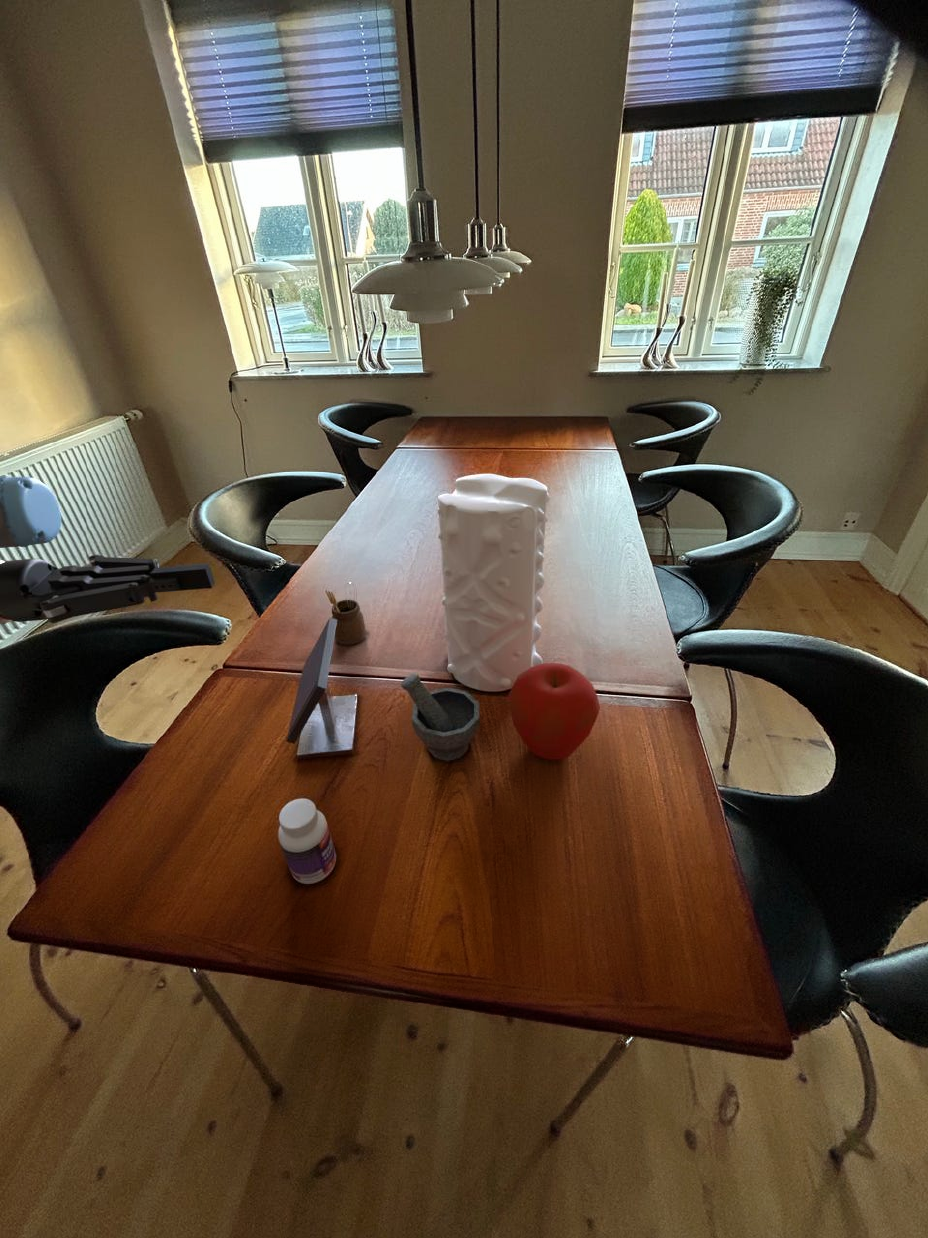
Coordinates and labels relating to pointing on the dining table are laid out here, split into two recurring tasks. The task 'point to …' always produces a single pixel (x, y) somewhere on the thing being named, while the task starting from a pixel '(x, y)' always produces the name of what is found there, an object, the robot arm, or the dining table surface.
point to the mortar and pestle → (443, 718)
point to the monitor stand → (329, 727)
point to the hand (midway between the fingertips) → (210, 575)
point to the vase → (492, 577)
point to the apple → (553, 709)
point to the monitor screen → (312, 681)
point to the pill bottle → (306, 841)
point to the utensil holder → (347, 620)
